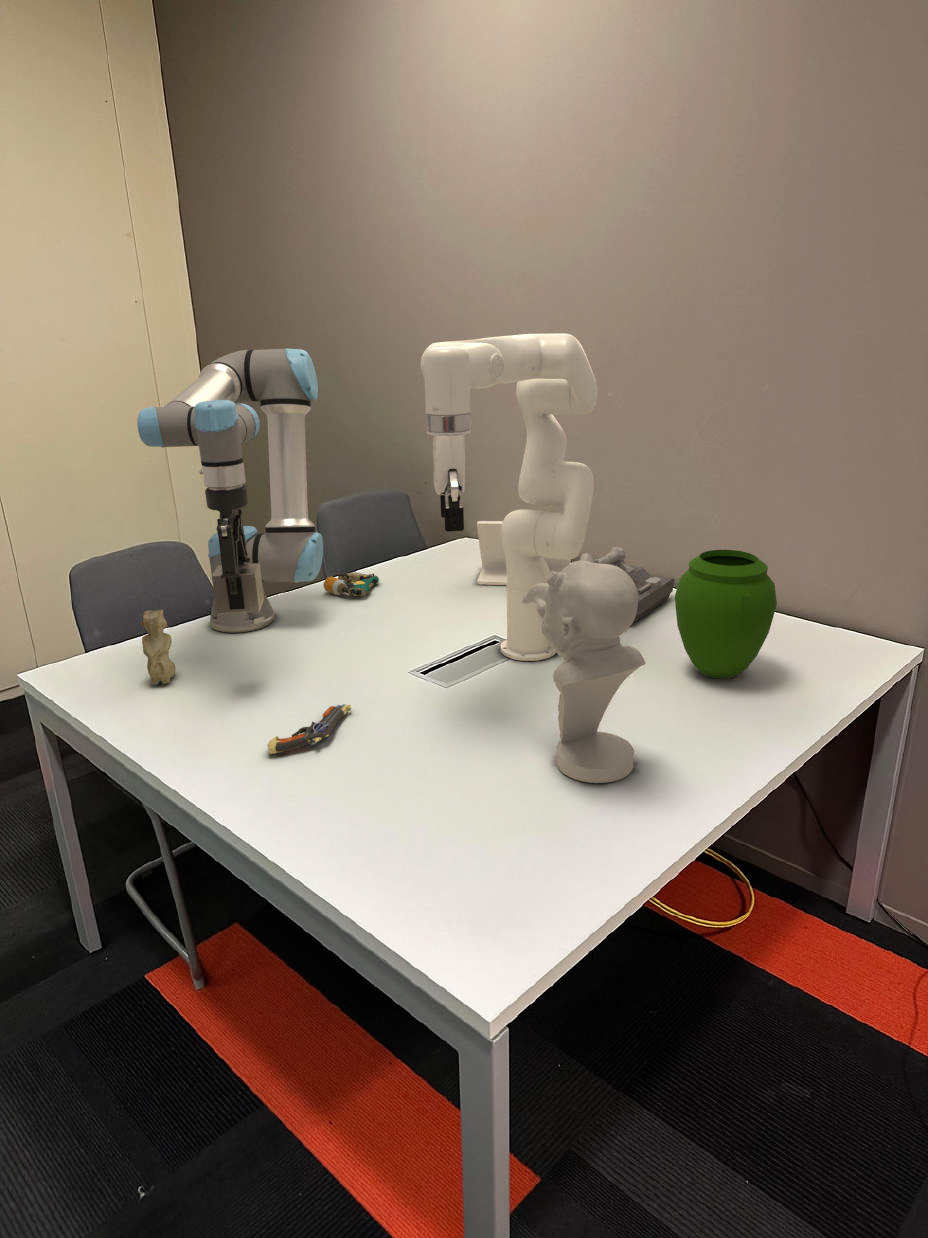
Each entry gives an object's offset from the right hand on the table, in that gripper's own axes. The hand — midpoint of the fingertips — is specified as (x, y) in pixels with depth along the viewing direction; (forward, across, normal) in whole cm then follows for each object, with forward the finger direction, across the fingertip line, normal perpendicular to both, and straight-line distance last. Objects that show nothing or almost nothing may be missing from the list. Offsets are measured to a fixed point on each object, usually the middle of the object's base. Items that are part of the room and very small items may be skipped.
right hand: (452, 523), depth 149 cm
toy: (+37, -53, +44) cm, 78 cm away
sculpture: (+37, -23, -60) cm, 74 cm away
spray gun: (+37, -77, -22) cm, 88 cm away
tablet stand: (+37, -81, +26) cm, 92 cm away
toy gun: (+37, +5, -27) cm, 46 cm away
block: (+19, -16, -41) cm, 48 cm away
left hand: (+18, -16, -41) cm, 48 cm away
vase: (+37, -10, +54) cm, 66 cm away
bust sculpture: (+37, +20, +18) cm, 45 cm away
